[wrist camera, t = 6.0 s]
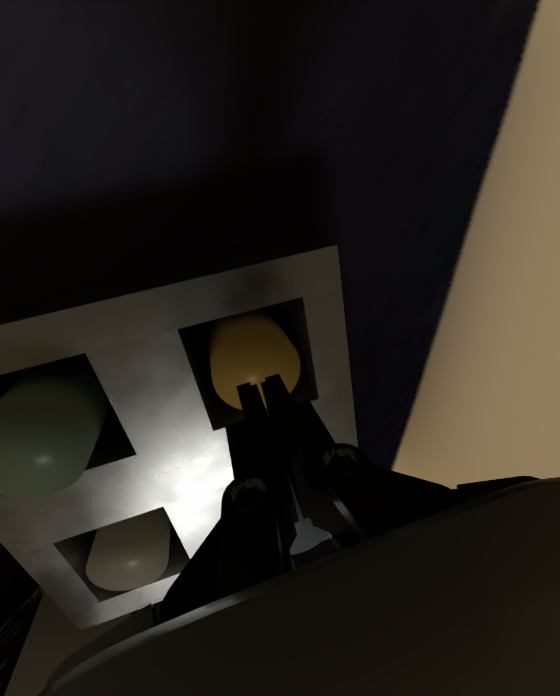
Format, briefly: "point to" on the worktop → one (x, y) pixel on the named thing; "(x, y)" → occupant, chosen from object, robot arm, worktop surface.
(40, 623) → the medicine bottle
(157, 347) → the panel
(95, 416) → the sage button
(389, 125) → the worktop surface
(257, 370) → the amber rounded lump
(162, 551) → the ivory button
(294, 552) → the slate button
